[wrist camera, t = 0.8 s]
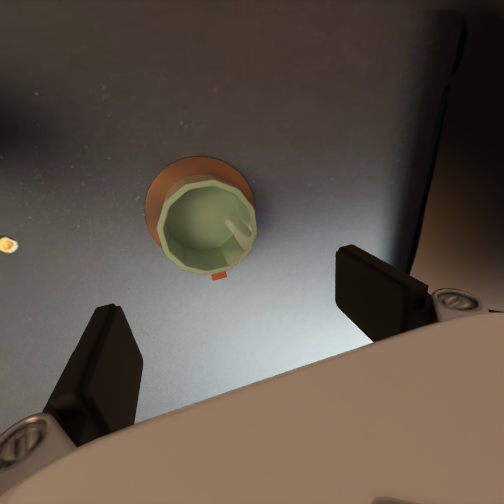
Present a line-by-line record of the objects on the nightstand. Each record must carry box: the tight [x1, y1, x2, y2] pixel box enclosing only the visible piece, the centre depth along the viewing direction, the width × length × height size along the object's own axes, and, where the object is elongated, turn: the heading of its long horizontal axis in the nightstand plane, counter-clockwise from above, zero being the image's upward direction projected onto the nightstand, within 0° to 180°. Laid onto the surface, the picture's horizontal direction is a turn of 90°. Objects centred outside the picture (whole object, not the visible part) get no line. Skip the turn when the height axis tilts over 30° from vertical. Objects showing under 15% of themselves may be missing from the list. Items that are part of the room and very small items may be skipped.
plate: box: [145, 156, 255, 249], centre depth 24 cm, size 10×10×1 cm
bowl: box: [157, 173, 257, 280], centre depth 21 cm, size 8×7×5 cm
